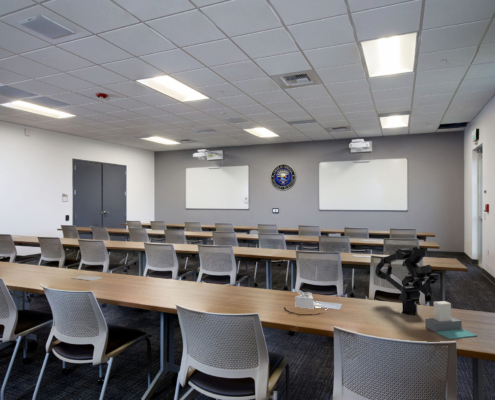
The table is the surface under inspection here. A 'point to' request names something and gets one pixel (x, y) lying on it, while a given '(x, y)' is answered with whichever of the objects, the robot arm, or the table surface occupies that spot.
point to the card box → (442, 311)
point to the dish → (306, 301)
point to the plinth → (443, 324)
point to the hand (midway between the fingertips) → (429, 294)
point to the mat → (456, 334)
